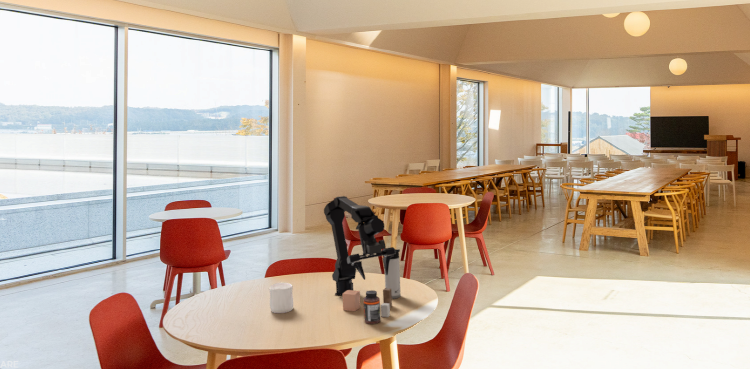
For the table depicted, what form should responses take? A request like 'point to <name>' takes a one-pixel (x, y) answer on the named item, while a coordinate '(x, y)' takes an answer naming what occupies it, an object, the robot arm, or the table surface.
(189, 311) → the table surface
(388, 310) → the white block
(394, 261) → the travel mug
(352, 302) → the pink foam cube
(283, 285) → the cup
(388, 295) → the post
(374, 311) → the supplement bottle
